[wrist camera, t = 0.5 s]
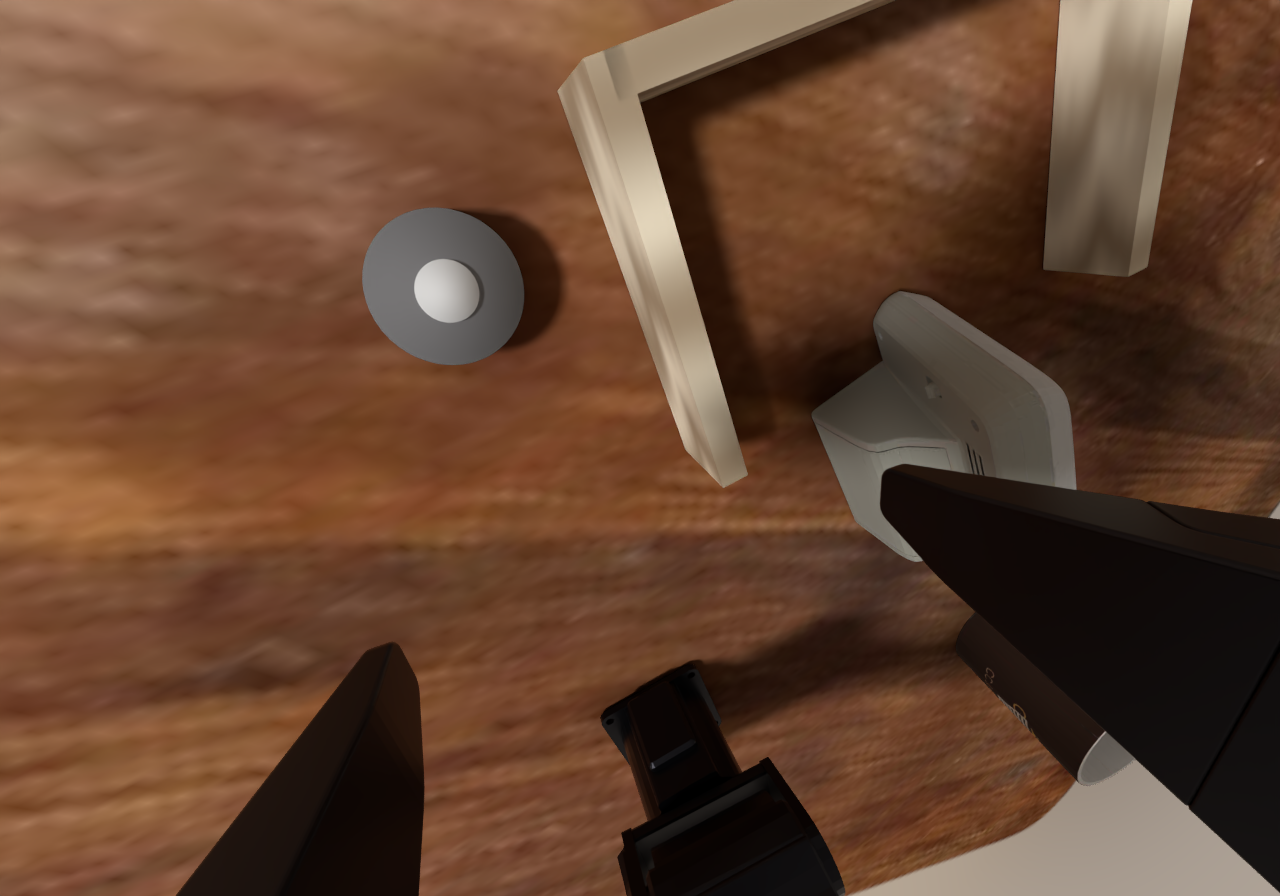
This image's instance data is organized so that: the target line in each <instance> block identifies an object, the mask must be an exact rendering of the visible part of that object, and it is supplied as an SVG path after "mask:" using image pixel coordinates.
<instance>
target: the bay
mask: <svg viewBox="0 0 1280 896" xmlns="http://www.w3.org/2000/svg"><path fill="white" fill-rule="evenodd" d="M893 1H896V0H734V1H732V2H729V3H727V4H724V5H721V6H719V7H716V8H714V9H711V10H708V11H706V12H703V13H700V14H698V15H695V16H693V17H690V18H687V19H685V20H682V21H680V22H677V23H674V24H672V25H669V26H666V27H664V28H661V29H659V30H656V31H653V32H651V33H648V34H645V35H643V36H640V37H638V38H635V39H632V40H630V41H627V42H625V43H622V44H619V45H617V46H614V47H611V48H609V49H606V50H604V51H601V52H598V53H596V54H593V55H591V56H588V57H585V58H583V59H582V60H581V62H580V63H579V64H578V65H577V67H576V68H575V69H574V71H573V72H572V73H571V74H570V76H569V77H568V78H567V79H566V81H565V82H564V83H563V85H562V86H561V87H560V88H559V90H558V94H559V97H560V100H561V102H562V105H563V108H564V111H565V114H566V116H567V119H568V122H569V125H570V128H571V130H572V133H573V136H574V139H575V142H576V144H577V147H578V150H579V153H580V156H581V158H582V161H583V164H584V167H585V170H586V172H587V175H588V178H589V181H590V184H591V186H592V189H593V192H594V195H595V198H596V200H597V203H598V206H599V209H600V212H601V214H602V217H603V220H604V223H605V226H606V228H607V231H608V234H609V237H610V240H611V242H612V245H613V248H614V251H615V254H616V256H617V259H618V262H619V265H620V268H621V270H622V273H623V276H624V279H625V282H626V284H627V287H628V290H629V293H630V296H631V298H632V301H633V304H634V307H635V310H636V312H637V315H638V318H639V321H640V324H641V326H642V329H643V332H644V335H645V338H646V340H647V343H648V346H649V349H650V352H651V354H652V357H653V360H654V363H655V366H656V368H657V371H658V374H659V377H660V380H661V382H662V385H663V388H664V391H665V394H666V396H667V399H668V402H669V405H670V408H671V410H672V413H673V416H674V419H675V422H676V424H677V427H678V430H679V433H680V435H681V438H682V441H683V444H684V447H685V449H686V451H687V452H688V453H689V454H690V455H691V456H692V457H693V458H694V459H695V460H696V461H697V462H698V463H699V464H700V465H701V466H702V467H703V468H704V469H705V470H706V471H707V472H708V473H709V474H710V475H711V476H712V477H713V478H714V479H715V480H716V481H717V482H718V483H719V484H720V485H721V486H722V487H723V488H724V487H726V486H728V485H730V484H732V483H733V482H735V481H737V480H739V479H741V478H743V477H745V476H747V475H748V474H747V470H746V467H745V463H744V460H743V456H742V453H741V449H740V446H739V443H738V439H737V436H736V432H735V429H734V425H733V422H732V418H731V415H730V412H729V408H728V405H727V401H726V398H725V394H724V391H723V387H722V384H721V381H720V377H719V374H718V370H717V367H716V363H715V360H714V356H713V353H712V350H711V346H710V343H709V339H708V336H707V332H706V329H705V325H704V322H703V319H702V315H701V312H700V308H699V305H698V301H697V298H696V294H695V291H694V287H693V284H692V281H691V277H690V274H689V270H688V267H687V263H686V260H685V256H684V253H683V250H682V246H681V243H680V239H679V236H678V232H677V229H676V225H675V222H674V219H673V215H672V212H671V208H670V205H669V201H668V198H667V194H666V191H665V188H664V184H663V181H662V177H661V174H660V170H659V167H658V163H657V160H656V157H655V153H654V150H653V146H652V143H651V139H650V136H649V132H648V129H647V126H646V122H645V119H644V115H643V112H642V108H641V105H640V103H641V102H644V101H646V100H649V99H651V98H654V97H656V96H659V95H661V94H664V93H666V92H669V91H671V90H674V89H676V88H678V87H681V86H683V85H686V84H688V83H691V82H693V81H696V80H698V79H701V78H703V77H706V76H708V75H711V74H713V73H716V72H718V71H721V70H723V69H726V68H728V67H731V66H733V65H736V64H738V63H741V62H743V61H746V60H748V59H751V58H753V57H756V56H758V55H761V54H763V53H766V52H768V51H771V50H773V49H776V48H778V47H781V46H783V45H786V44H788V43H791V42H793V41H796V40H798V39H801V38H803V37H806V36H808V35H811V34H813V33H816V32H818V31H821V30H823V29H826V28H828V27H831V26H833V25H836V24H838V23H841V22H843V21H846V20H848V19H851V18H853V17H856V16H858V15H861V14H863V13H866V12H868V11H871V10H873V9H876V8H878V7H881V6H883V5H886V4H888V3H891V2H893ZM1191 5H1192V0H1060V15H1059V30H1058V46H1057V61H1056V76H1055V92H1054V107H1053V123H1052V138H1051V154H1050V169H1049V185H1048V200H1047V216H1046V231H1045V246H1044V262H1043V270H1053V271H1064V272H1076V273H1088V274H1099V275H1111V276H1123V277H1129V276H1131V275H1133V274H1135V273H1137V272H1139V271H1141V270H1142V269H1144V268H1146V267H1147V266H1148V260H1149V254H1150V248H1151V242H1152V236H1153V230H1154V224H1155V218H1156V213H1157V207H1158V201H1159V195H1160V189H1161V183H1162V177H1163V171H1164V165H1165V159H1166V153H1167V147H1168V141H1169V135H1170V130H1171V124H1172V118H1173V112H1174V106H1175V100H1176V94H1177V88H1178V82H1179V76H1180V70H1181V64H1182V58H1183V52H1184V47H1185V41H1186V35H1187V29H1188V23H1189V17H1190V11H1191Z"/></svg>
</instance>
